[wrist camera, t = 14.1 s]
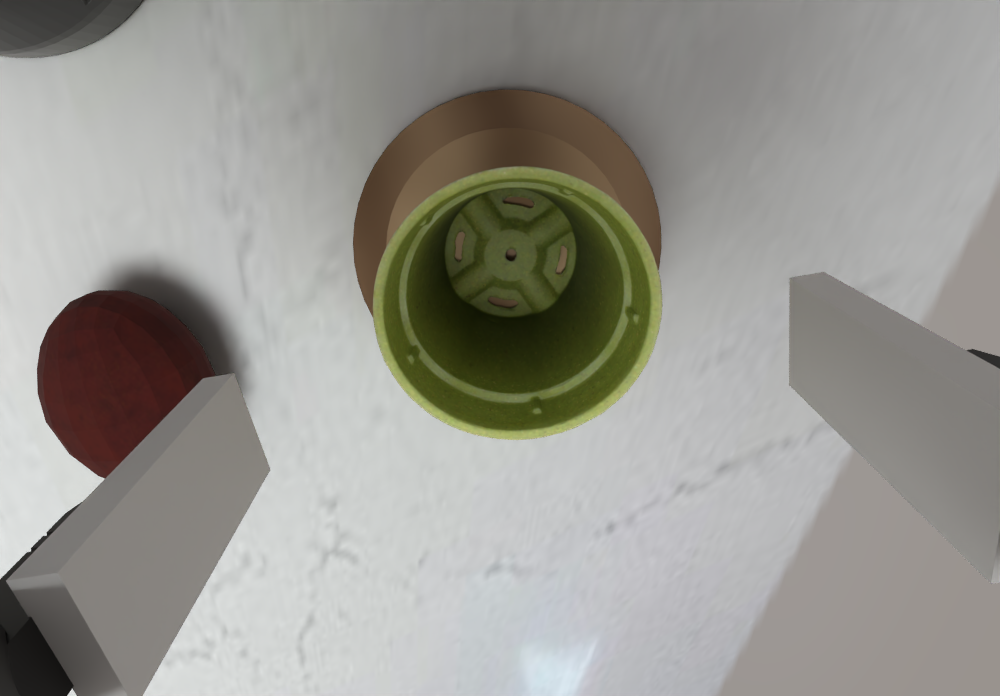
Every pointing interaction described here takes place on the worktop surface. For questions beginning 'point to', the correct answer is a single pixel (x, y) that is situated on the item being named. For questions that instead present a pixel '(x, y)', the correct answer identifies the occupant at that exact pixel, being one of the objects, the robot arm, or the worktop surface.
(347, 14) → the worktop surface
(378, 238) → the plate
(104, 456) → the potato
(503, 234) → the plant pot
